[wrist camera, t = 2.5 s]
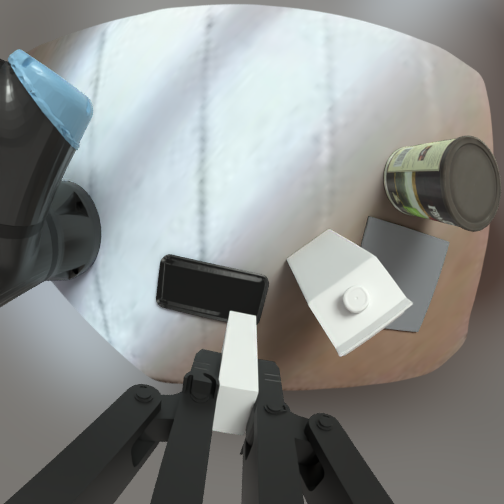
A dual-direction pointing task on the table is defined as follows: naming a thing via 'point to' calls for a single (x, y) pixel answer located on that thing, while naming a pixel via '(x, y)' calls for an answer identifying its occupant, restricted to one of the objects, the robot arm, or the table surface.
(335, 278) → the milk carton
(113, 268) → the table surface
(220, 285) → the phone
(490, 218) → the coffee can
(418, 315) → the mat
